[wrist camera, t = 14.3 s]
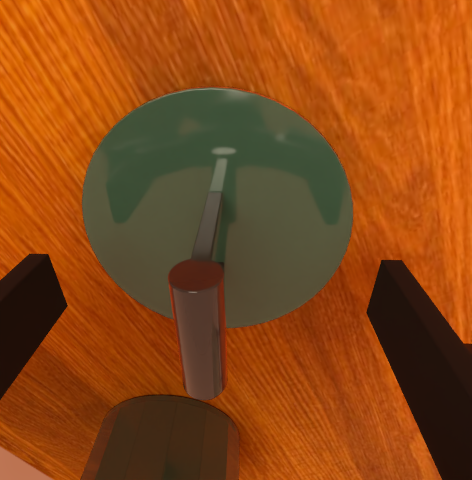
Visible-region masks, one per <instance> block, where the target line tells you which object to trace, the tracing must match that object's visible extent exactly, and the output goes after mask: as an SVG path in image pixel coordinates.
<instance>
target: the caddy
mask: <svg viewBox="0 0 472 480" xmlns="http://www.w3.org/2000/svg"><path fill="white" fill-rule="evenodd" d="M239 441H240V437H239V432H238V429H237V427H236V425H235V424H234V422H233V421H232V420H231V419H230V418H229V417H228V416H227V415H226V414H224V413H223V412H221V411H220V410H218V409H216V408H214V407H213V406H211V405H208V404H206V403H203V402H200V401H197V400H194V399H190V398H185V397H179V396H170V395H151V396H142V397H137V398H133V399H130V400H127V401H124V402H122V403H120V404H118V405H116V406H115V407H114V408H112V409H111V410H110V411H109V412H108V413H107V415H106V416H105V418H104V420H103V423H102V425H101V428H100V430H99V433H98V435H97V438H96V441H95V443H94V446H93V448H92V451H91V454H90V456H89V459H88V461H87V464H86V466H85V469H84V472H83V474H82V477H81V479H80V480H239Z"/></svg>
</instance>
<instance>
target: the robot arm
mask: <svg viewBox="0 0 472 480" xmlns="http://www.w3.org/2000/svg"><path fill="white" fill-rule="evenodd" d="M67 306H68V305H67V303H66V300H65V297H64V295H63V292H62V289H61V287H60V284H59V281H58V279H57V276H56V273H55V271H54V268H53V265H52V263H51V260H50V257H49V255H48V254H29V255H28V256H27V257H25V258H24V259H23V260H22V261H21V262H20V263H19V264H18V265H17V266H16V267H14V268H13V269H12V270H11V271H10V272H9V273H8V274H7V275H6V276H5V277H4V278H2V279H1V280H0V400H1V398H2V397H3V395H4V394H5V393H6V391H7V390H8V388H9V387H10V386H11V384H12V383H13V381H14V380H15V379H16V377H17V376H18V374H19V373H20V372H21V370H22V369H23V367H24V366H25V365H26V363H27V362H28V360H29V359H30V358H31V356H32V355H33V353H34V352H35V351H36V349H37V348H38V347H39V345H40V344H41V342H42V341H43V340H44V338H45V337H46V335H47V334H48V333H49V331H50V330H51V328H52V327H53V326H54V324H55V323H56V321H57V320H58V319H59V317H60V316H61V314H62V313H63V312H64V310H65V309H66V307H67ZM366 313H367V315H368V317H369V319H370V322H371V324H372V326H373V328H374V330H375V333H376V335H377V337H378V339H379V341H380V344H381V346H382V348H383V350H384V352H385V355H386V357H387V359H388V361H389V363H390V366H391V368H392V370H393V372H394V374H395V377H396V379H397V381H398V383H399V386H400V388H401V390H402V392H403V394H404V397H405V399H406V401H407V403H408V405H409V408H410V410H411V412H412V414H413V416H414V419H415V421H416V423H417V425H418V427H419V430H420V432H421V434H422V436H423V438H424V441H425V443H426V445H427V447H428V449H429V452H430V454H431V456H432V458H433V460H434V463H435V465H436V467H437V469H438V471H439V474H440V476H441V478H442V480H472V344H463V342H462V341H461V340H460V338H459V337H458V336H457V334H456V333H455V332H454V330H453V329H452V328H451V326H450V325H449V323H448V322H447V321H446V319H445V318H444V317H443V315H442V314H441V313H440V311H439V310H438V309H437V307H436V306H435V305H434V303H433V302H432V300H431V299H430V298H429V296H428V295H427V294H426V292H425V291H424V290H423V288H422V287H421V286H420V284H419V283H418V282H417V280H416V279H415V277H414V276H413V275H412V273H411V272H410V271H409V269H408V268H407V267H406V265H405V264H404V263H403V261H402V260H381V264H380V267H379V271H378V274H377V278H376V281H375V285H374V288H373V292H372V295H371V298H370V302H369V305H368V309H367V312H366Z"/></svg>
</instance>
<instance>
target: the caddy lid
mask: <svg viewBox="0 0 472 480" xmlns="http://www.w3.org/2000/svg"><path fill="white" fill-rule="evenodd" d="M82 209H83V220H84V224H85V229H86V233H87V236H88V239H89V242H90V244H91V247H92V249H93V251H94V253H95V255H96V257H97V259H98V261H99V262H100V264H101V265H102V267H103V268H104V269H105V271H106V272H107V274H108V275H109V276H110V277H111V278H112V279H113V281H114V282H115V283H116V284H117V285H118V286H119V287H120V288H121V289H122V290H124V291H125V292H126V293H127V294H128V295H129V296H131V297H132V298H133V299H135V300H136V301H137V302H139V303H140V304H142V305H144V306H145V307H147V308H149V309H150V310H152V311H154V312H156V313H158V314H160V315H163V316H165V317H167V318H170V319H173V320H174V325H175V332H176V339H177V345H178V352H179V359H180V366H181V372H182V379H183V386H184V389H185V391H186V392H187V393H188V394H189V395H190V396H191V397H193V398H195V399H197V400H210V399H213V398H215V397H217V396H218V395H219V394H220V393H222V391H223V390H224V389H225V387H226V384H227V343H226V328H238V327H247V326H252V325H257V324H261V323H265V322H268V321H271V320H274V319H277V318H279V317H281V316H284V315H286V314H288V313H290V312H292V311H293V310H295V309H297V308H299V307H300V306H302V305H303V304H305V303H306V302H307V301H309V300H310V299H311V298H313V297H314V296H315V295H316V294H317V293H318V292H319V291H320V290H321V289H322V288H323V287H324V286H325V285H326V284H327V282H328V281H329V280H330V279H331V278H332V276H333V275H334V273H335V272H336V270H337V269H338V267H339V265H340V264H341V261H342V259H343V257H344V255H345V253H346V250H347V247H348V244H349V240H350V237H351V231H352V224H353V201H352V195H351V189H350V185H349V182H348V179H347V176H346V173H345V170H344V168H343V166H342V164H341V162H340V160H339V158H338V156H337V154H336V153H335V151H334V150H333V149H332V147H331V146H330V144H329V143H328V142H327V140H326V139H325V138H324V137H323V136H322V134H321V133H320V132H319V131H318V130H317V129H316V128H315V127H314V126H313V125H312V124H311V123H310V122H309V121H307V120H306V119H305V118H303V117H302V116H301V115H300V114H298V113H297V112H296V111H294V110H293V109H291V108H289V107H287V106H286V105H284V104H282V103H280V102H278V101H277V100H275V99H272V98H269V97H267V96H264V95H261V94H259V93H256V92H252V91H248V90H243V89H239V88H234V87H221V86H204V87H191V88H186V89H182V90H178V91H173V92H170V93H167V94H164V95H162V96H159V97H157V98H154V99H152V100H150V101H148V102H146V103H144V104H143V105H141V106H139V107H137V108H136V109H134V110H132V111H131V112H130V113H128V114H127V115H126V116H125V117H123V118H122V119H121V120H120V121H119V122H117V123H116V124H115V125H114V126H113V128H112V129H111V130H110V131H109V132H108V133H107V134H106V135H105V137H104V138H103V139H102V141H101V143H100V144H99V146H98V147H97V149H96V151H95V152H94V154H93V157H92V159H91V161H90V164H89V166H88V168H87V172H86V176H85V180H84V184H83V195H82Z"/></svg>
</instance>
